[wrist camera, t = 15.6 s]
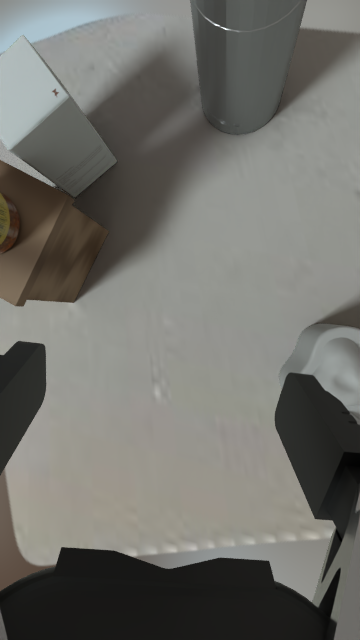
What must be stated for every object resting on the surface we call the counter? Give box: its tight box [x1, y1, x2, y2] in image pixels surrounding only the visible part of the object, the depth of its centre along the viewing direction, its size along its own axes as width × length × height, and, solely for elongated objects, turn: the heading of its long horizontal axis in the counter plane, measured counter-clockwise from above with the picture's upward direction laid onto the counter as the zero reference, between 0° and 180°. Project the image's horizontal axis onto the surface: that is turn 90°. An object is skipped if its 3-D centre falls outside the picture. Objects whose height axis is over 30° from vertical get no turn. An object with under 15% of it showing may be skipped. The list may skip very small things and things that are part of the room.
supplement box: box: [0, 35, 117, 197], centre depth 35 cm, size 7×7×13 cm
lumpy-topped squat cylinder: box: [279, 323, 360, 425], centre depth 33 cm, size 10×13×9 cm
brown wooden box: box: [0, 160, 109, 306], centre depth 36 cm, size 11×11×12 cm
